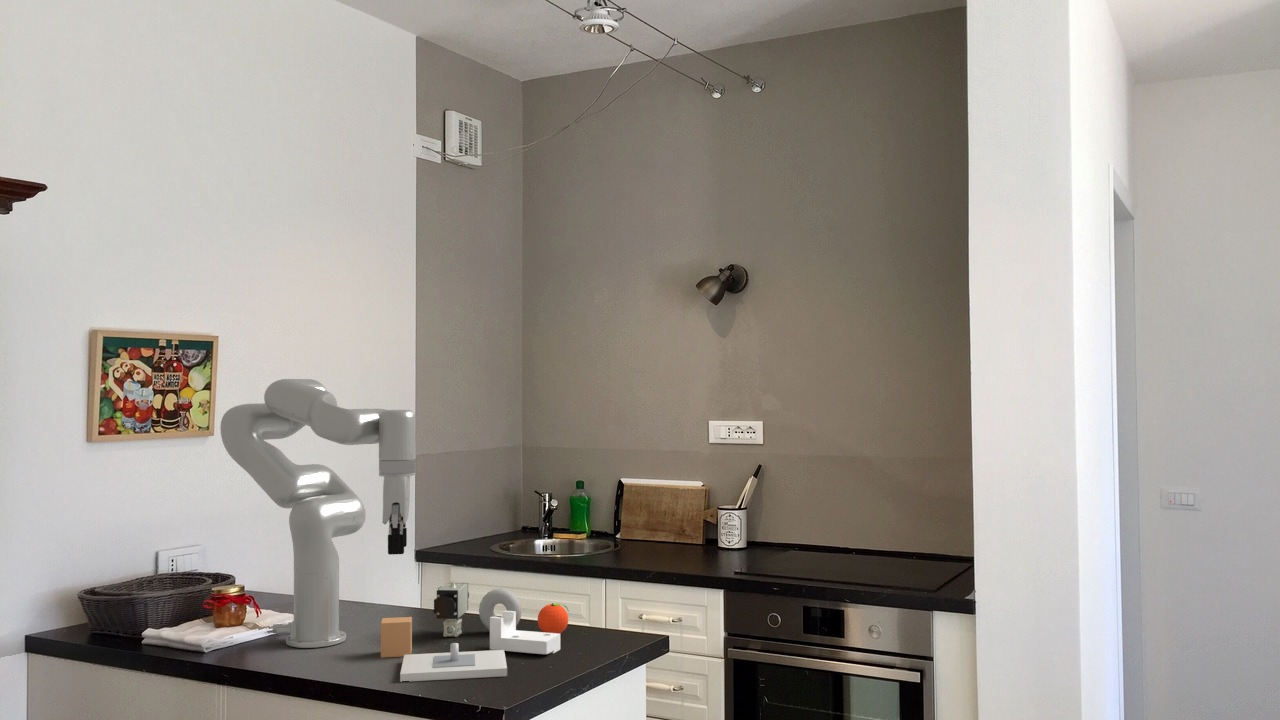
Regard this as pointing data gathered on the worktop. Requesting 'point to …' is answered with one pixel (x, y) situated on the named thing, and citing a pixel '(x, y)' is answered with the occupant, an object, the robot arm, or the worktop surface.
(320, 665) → the worktop surface
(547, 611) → the clementine
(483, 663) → the plate
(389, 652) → the block
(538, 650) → the bracket
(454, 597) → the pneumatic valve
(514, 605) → the donut
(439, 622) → the worktop surface
